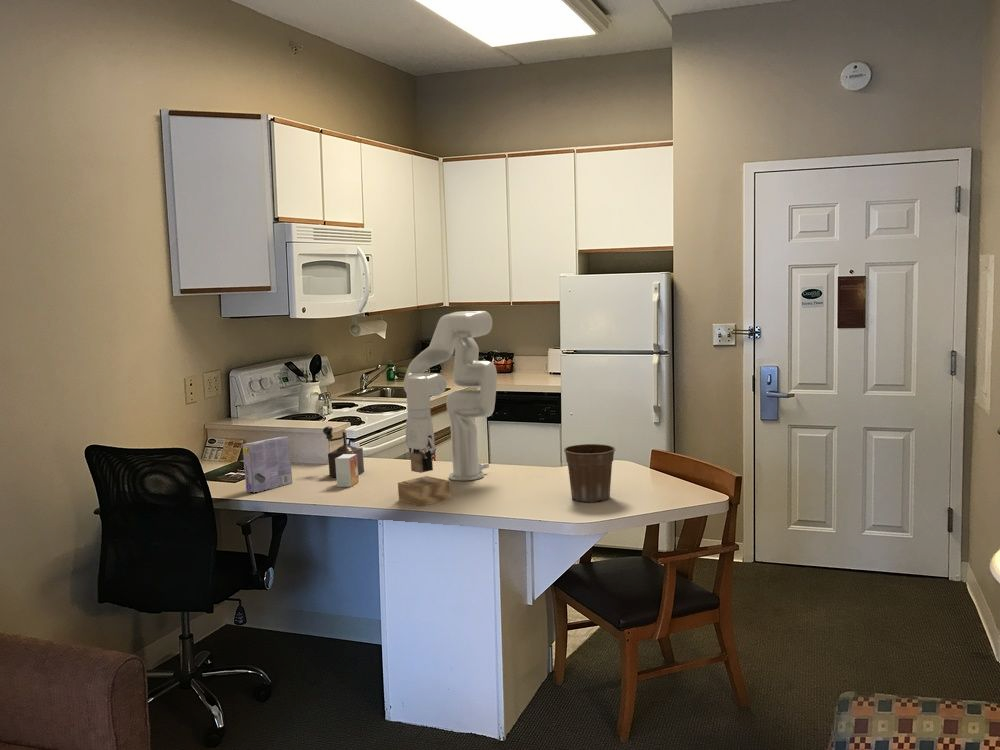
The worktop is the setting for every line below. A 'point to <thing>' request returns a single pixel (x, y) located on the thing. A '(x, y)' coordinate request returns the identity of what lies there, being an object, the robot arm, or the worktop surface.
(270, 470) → the cake pan box
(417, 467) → the walnut block
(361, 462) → the manual coffee grinder
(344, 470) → the small box
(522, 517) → the worktop surface
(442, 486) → the oak base
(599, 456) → the plant pot
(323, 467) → the worktop surface
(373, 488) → the worktop surface
